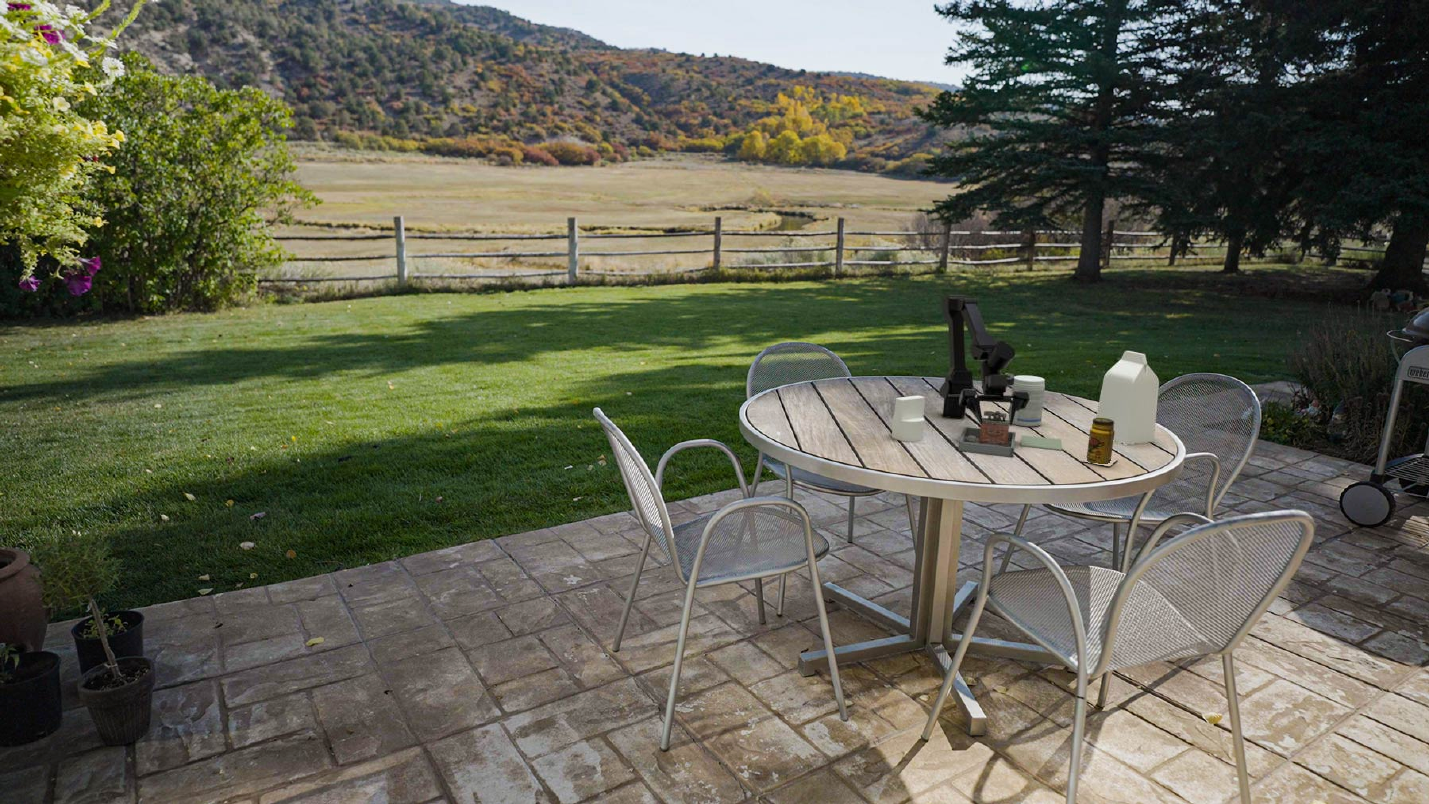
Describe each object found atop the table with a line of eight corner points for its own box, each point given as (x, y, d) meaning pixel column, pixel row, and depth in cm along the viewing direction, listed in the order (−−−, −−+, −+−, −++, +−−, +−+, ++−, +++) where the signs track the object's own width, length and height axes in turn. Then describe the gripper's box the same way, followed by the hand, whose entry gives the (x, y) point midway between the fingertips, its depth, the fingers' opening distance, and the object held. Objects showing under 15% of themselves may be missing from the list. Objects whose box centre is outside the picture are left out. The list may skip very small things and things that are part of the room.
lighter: (1007, 445, 243) (1011, 411, 240) (1007, 448, 240) (1011, 414, 237) (978, 442, 245) (981, 408, 243) (978, 445, 242) (981, 411, 240)
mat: (1020, 446, 242) (1020, 444, 242) (1021, 436, 252) (1021, 435, 252) (1061, 450, 238) (1061, 449, 238) (1061, 440, 248) (1061, 439, 248)
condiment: (1080, 462, 228) (1086, 419, 225) (1090, 455, 235) (1096, 414, 232) (1109, 468, 224) (1115, 424, 221) (1118, 461, 230) (1124, 418, 227)
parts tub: (958, 450, 236) (958, 442, 236) (963, 434, 252) (964, 426, 252) (1012, 457, 231) (1013, 448, 231) (1014, 440, 247) (1015, 432, 247)
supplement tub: (1047, 425, 266) (1052, 379, 262) (1028, 429, 260) (1033, 382, 257) (1021, 418, 273) (1026, 373, 270) (1002, 421, 268) (1006, 376, 265)
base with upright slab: (905, 443, 243) (908, 402, 240) (885, 435, 251) (888, 395, 248) (929, 439, 247) (932, 399, 244) (909, 431, 255) (912, 393, 252)
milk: (1092, 434, 256) (1104, 350, 250) (1120, 431, 260) (1132, 348, 254) (1125, 445, 245) (1138, 357, 239) (1153, 441, 250) (1166, 355, 243)
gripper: (964, 361, 241) (968, 408, 233) (1031, 364, 240) (1037, 411, 232) (957, 382, 251) (960, 428, 243) (1021, 385, 249) (1027, 431, 241)
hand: (996, 424), depth 239 cm, fingers closed on lighter, 8 cm apart
